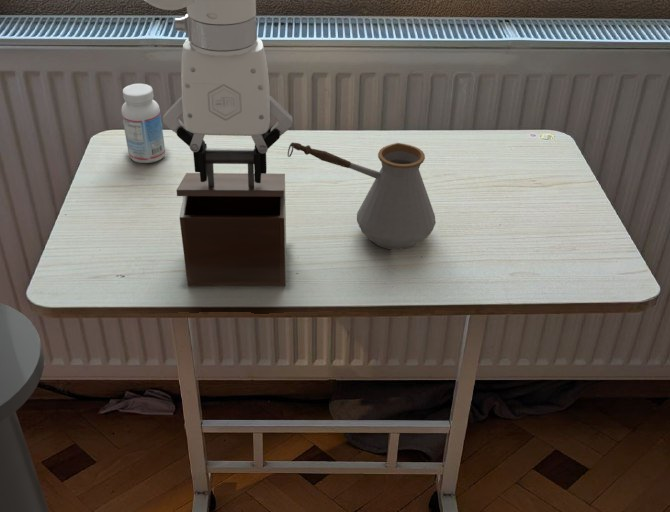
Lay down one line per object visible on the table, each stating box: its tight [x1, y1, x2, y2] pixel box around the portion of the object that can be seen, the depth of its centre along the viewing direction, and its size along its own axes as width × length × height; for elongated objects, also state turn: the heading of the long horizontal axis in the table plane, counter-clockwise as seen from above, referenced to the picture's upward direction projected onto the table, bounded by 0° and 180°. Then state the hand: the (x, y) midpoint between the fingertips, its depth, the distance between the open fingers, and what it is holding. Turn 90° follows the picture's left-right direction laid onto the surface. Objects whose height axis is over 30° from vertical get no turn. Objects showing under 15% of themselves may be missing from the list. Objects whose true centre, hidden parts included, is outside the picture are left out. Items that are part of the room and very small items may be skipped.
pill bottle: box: [120, 83, 166, 164], centre depth 134 cm, size 6×6×11 cm
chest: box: [179, 186, 287, 287], centre depth 112 cm, size 10×13×11 cm
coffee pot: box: [287, 142, 437, 251], centre depth 117 cm, size 21×12×15 cm, turn 96°
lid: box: [176, 148, 286, 197], centre depth 106 cm, size 10×13×5 cm
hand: (231, 176), depth 105 cm, fingers closed on lid, 6 cm apart
